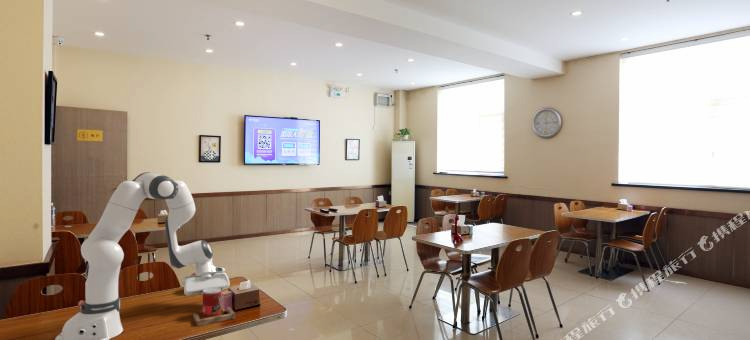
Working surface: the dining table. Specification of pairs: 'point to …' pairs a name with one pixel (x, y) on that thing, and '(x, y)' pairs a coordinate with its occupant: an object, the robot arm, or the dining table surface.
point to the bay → (214, 319)
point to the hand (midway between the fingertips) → (209, 299)
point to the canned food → (211, 301)
